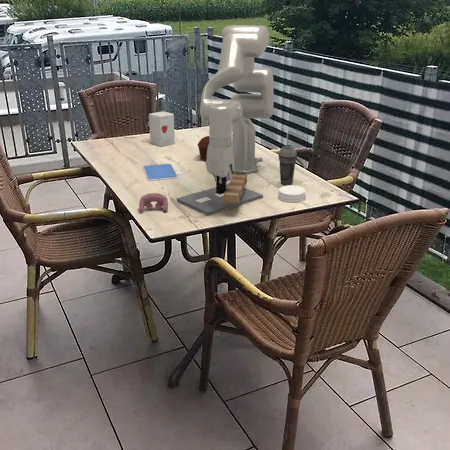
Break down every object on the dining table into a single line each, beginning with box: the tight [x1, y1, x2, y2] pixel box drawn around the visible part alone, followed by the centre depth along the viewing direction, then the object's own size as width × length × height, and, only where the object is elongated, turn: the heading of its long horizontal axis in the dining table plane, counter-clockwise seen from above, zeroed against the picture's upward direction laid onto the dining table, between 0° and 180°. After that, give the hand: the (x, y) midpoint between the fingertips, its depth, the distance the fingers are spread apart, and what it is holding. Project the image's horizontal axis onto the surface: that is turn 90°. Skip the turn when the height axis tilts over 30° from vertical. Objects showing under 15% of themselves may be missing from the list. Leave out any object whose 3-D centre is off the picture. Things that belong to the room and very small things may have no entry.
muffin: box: [197, 135, 210, 162], centre depth 249 cm, size 12×11×10 cm
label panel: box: [176, 182, 264, 216], centre depth 202 cm, size 26×18×4 cm
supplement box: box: [148, 110, 176, 147], centre depth 273 cm, size 9×9×15 cm
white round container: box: [277, 184, 307, 203], centre depth 204 cm, size 10×10×4 cm
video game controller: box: [138, 192, 169, 214], centre depth 193 cm, size 10×5×7 cm, turn 93°
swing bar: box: [224, 171, 248, 204], centre depth 198 cm, size 26×5×3 cm, turn 171°
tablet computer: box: [142, 163, 179, 182], centre depth 232 cm, size 19×13×1 cm, turn 14°
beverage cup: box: [278, 132, 298, 186], centre depth 215 cm, size 7×7×20 cm
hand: (221, 193), depth 193 cm, fingers closed
